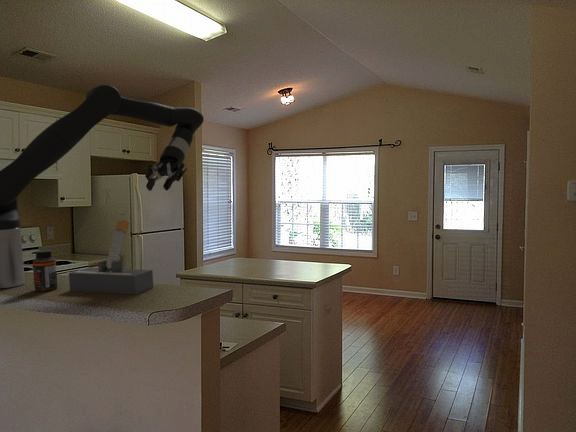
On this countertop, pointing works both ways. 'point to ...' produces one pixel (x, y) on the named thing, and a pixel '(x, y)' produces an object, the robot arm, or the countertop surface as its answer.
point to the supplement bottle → (44, 271)
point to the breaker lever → (117, 243)
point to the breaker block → (111, 279)
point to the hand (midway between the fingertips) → (157, 188)
